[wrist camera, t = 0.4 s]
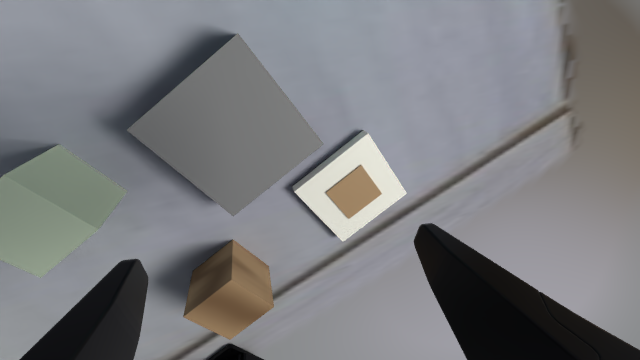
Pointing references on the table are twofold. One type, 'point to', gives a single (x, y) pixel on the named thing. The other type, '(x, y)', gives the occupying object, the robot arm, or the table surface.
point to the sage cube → (52, 209)
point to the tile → (350, 187)
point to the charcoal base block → (228, 128)
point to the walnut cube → (229, 291)
